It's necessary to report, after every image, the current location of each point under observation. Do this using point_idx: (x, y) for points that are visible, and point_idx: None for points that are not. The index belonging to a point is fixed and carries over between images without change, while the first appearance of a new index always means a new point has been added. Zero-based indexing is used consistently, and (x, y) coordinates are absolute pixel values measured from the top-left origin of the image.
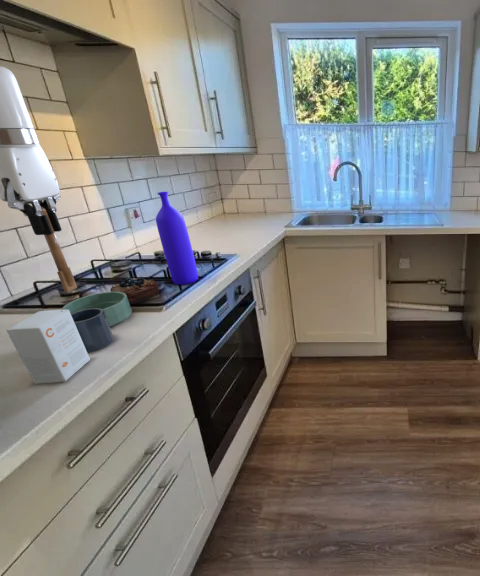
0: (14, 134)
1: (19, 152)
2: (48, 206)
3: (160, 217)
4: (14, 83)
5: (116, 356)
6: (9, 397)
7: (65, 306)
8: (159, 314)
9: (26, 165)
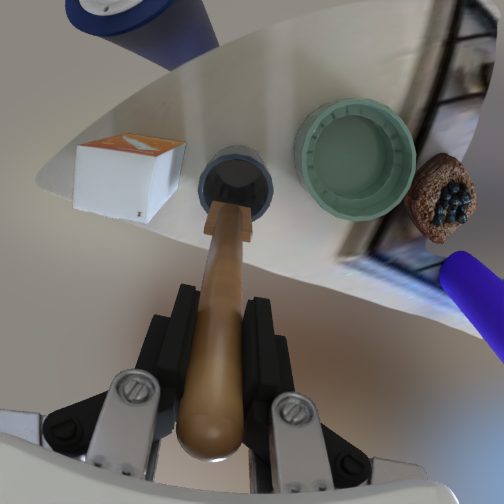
0: None
1: None
2: (252, 465)
3: None
4: None
5: (178, 225)
6: (105, 117)
7: (366, 103)
8: (325, 255)
9: None
